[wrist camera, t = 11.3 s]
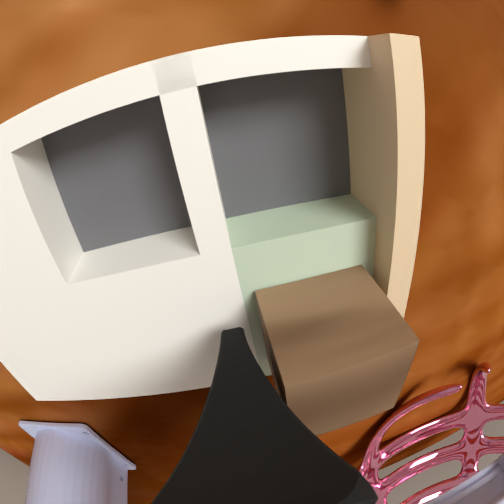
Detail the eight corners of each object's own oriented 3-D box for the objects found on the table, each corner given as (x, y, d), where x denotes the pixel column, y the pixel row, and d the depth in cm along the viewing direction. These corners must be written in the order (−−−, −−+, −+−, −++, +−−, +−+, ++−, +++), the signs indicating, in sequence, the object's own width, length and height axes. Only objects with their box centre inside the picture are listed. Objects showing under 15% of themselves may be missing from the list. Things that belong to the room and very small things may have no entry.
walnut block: (354, 336, 13) (393, 407, 10) (267, 361, 13) (292, 442, 9) (361, 264, 11) (419, 340, 8) (254, 291, 11) (284, 386, 7)
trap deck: (362, 310, 16) (392, 361, 13) (46, 368, 15) (31, 416, 12) (359, 42, 9) (419, 36, 6) (-63, 173, 8) (-111, 207, 5)
